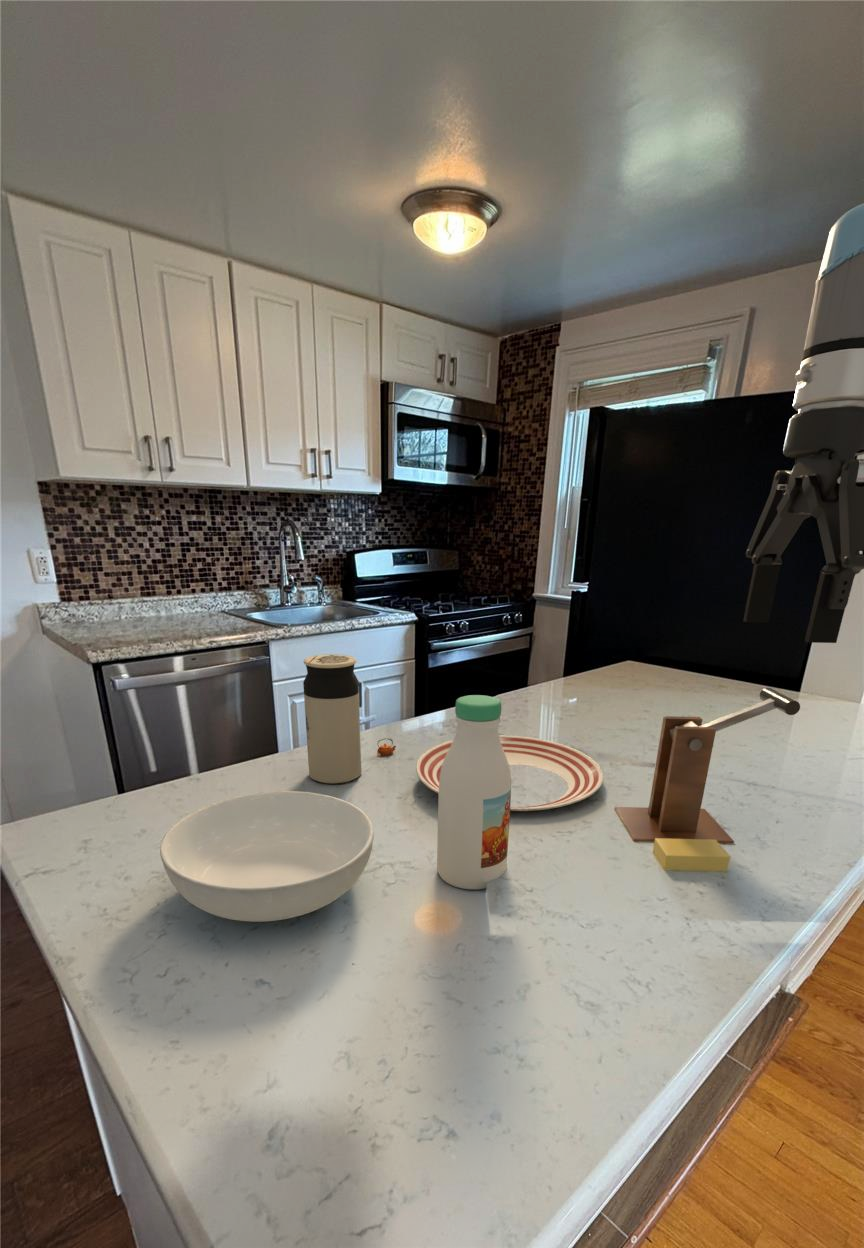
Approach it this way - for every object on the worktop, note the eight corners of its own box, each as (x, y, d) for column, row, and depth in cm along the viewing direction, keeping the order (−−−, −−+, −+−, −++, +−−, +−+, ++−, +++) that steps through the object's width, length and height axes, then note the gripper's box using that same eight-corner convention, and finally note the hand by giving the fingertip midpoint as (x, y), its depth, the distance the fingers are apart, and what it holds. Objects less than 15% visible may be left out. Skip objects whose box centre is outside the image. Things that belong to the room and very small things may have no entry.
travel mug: (367, 767, 97) (364, 655, 90) (352, 787, 90) (348, 666, 83) (319, 763, 98) (313, 652, 92) (301, 782, 91) (293, 663, 84)
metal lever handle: (775, 700, 74) (771, 682, 73) (802, 714, 68) (798, 695, 68) (669, 741, 76) (663, 725, 75) (687, 758, 71) (681, 741, 70)
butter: (711, 862, 71) (715, 839, 70) (725, 880, 67) (731, 856, 66) (650, 860, 71) (654, 837, 70) (662, 879, 67) (666, 855, 66)
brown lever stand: (702, 818, 82) (723, 712, 76) (731, 852, 73) (758, 735, 68) (613, 816, 82) (627, 710, 76) (632, 849, 73) (650, 733, 68)
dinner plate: (592, 841, 75) (595, 817, 74) (387, 808, 83) (387, 785, 82) (607, 765, 99) (609, 746, 98) (447, 745, 108) (448, 727, 106)
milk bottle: (455, 898, 63) (460, 713, 56) (426, 862, 70) (428, 693, 63) (518, 882, 66) (532, 705, 59) (485, 850, 73) (493, 687, 65)
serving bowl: (284, 982, 51) (277, 914, 49) (124, 909, 61) (112, 848, 58) (411, 870, 68) (411, 815, 66) (271, 826, 78) (266, 776, 75)
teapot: (381, 749, 105) (380, 735, 104) (397, 752, 104) (396, 737, 103) (373, 755, 102) (373, 740, 101) (390, 757, 101) (390, 742, 100)
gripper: (738, 429, 71) (705, 615, 79) (880, 382, 48) (814, 652, 55) (803, 429, 71) (764, 616, 79) (977, 382, 48) (897, 653, 55)
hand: (784, 631), depth 67 cm, fingers open, 13 cm apart
